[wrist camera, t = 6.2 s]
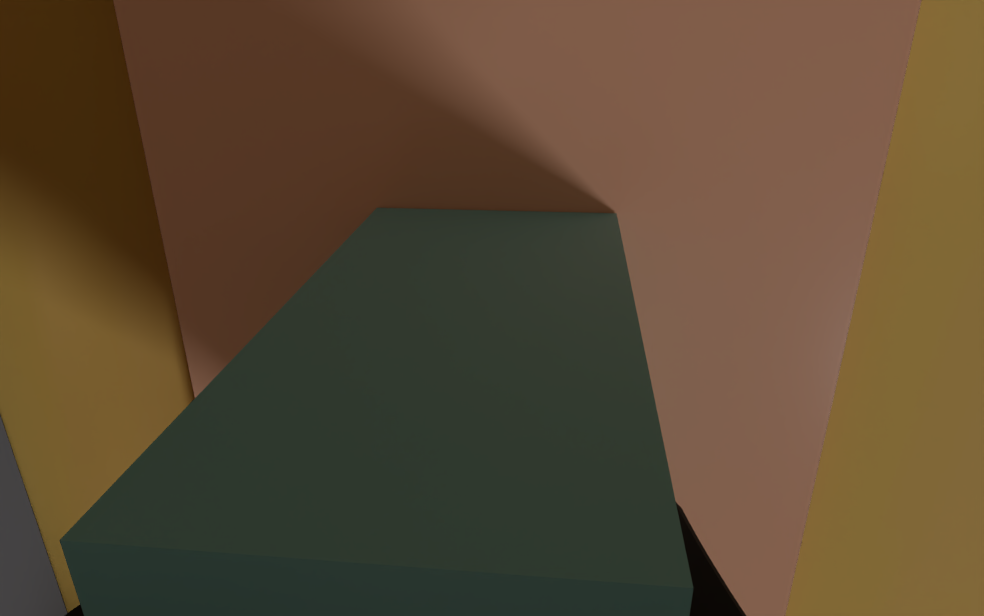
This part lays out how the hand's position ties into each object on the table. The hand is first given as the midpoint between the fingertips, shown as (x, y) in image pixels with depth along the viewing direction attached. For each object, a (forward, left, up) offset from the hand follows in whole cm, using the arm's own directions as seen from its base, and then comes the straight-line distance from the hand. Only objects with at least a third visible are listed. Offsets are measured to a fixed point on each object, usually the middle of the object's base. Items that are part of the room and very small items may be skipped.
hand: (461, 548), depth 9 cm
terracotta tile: (0, 0, -5) cm, 5 cm away
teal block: (0, 0, -4) cm, 4 cm away
